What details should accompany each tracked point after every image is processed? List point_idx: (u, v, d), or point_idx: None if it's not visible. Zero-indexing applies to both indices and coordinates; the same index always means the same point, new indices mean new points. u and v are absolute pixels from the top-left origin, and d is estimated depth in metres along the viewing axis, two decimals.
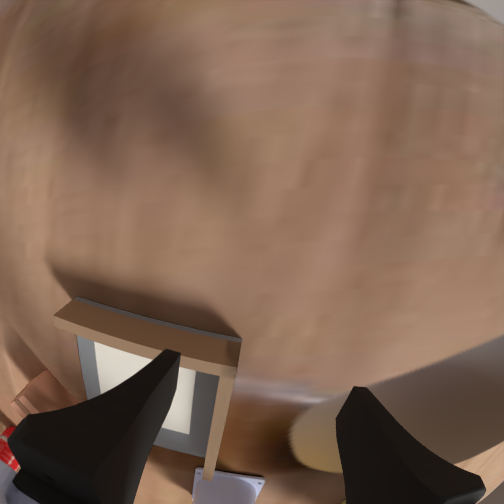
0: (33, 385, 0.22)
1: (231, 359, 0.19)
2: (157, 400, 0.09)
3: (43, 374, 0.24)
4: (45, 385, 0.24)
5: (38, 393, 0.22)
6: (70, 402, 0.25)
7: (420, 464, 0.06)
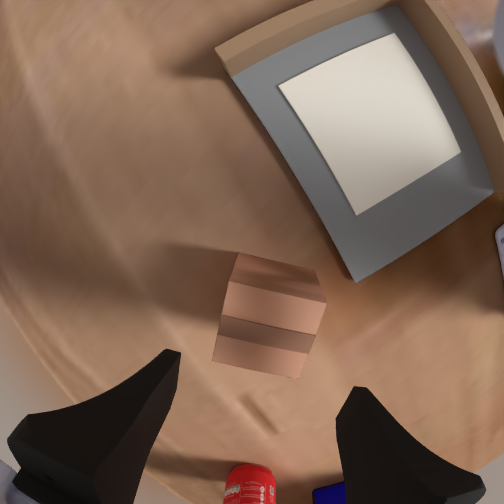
0: (235, 268, 0.17)
1: None
2: (157, 400, 0.09)
3: (239, 257, 0.19)
4: (254, 265, 0.18)
5: (252, 274, 0.16)
6: (305, 272, 0.19)
7: (420, 464, 0.06)
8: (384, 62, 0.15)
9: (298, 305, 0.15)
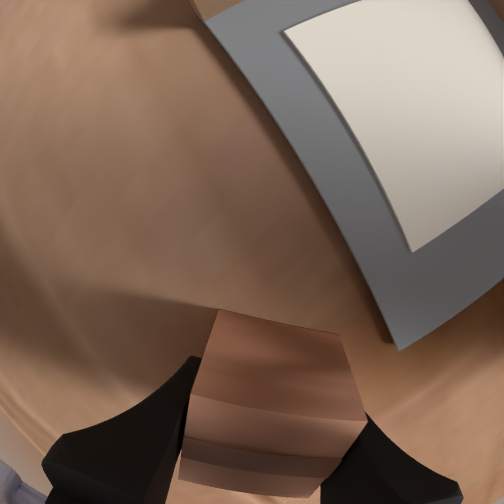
0: (208, 355, 0.09)
1: None
2: (187, 409, 0.09)
3: (218, 323, 0.11)
4: (242, 341, 0.10)
5: (237, 366, 0.09)
6: (326, 343, 0.11)
7: (392, 467, 0.06)
8: (445, 14, 0.07)
9: (317, 427, 0.07)
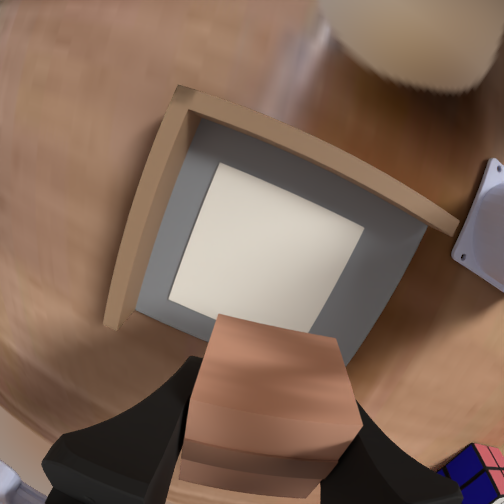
0: (207, 360, 0.09)
1: None
2: (187, 409, 0.09)
3: (217, 327, 0.11)
4: (241, 345, 0.10)
5: (236, 371, 0.09)
6: (324, 347, 0.11)
7: (392, 467, 0.06)
8: (231, 208, 0.17)
9: (314, 431, 0.07)
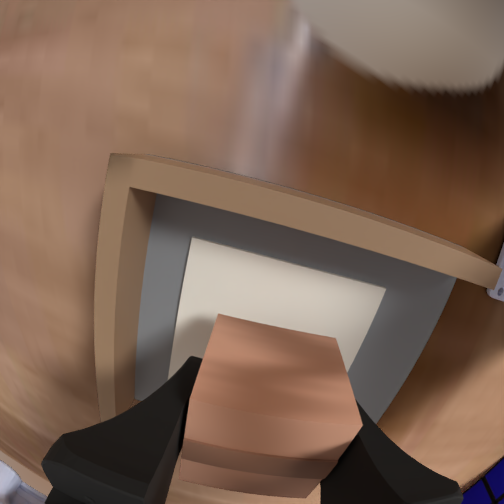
0: (206, 360, 0.09)
1: None
2: (187, 409, 0.09)
3: (217, 327, 0.11)
4: (240, 345, 0.10)
5: (235, 370, 0.09)
6: (323, 346, 0.11)
7: (392, 467, 0.06)
8: (217, 292, 0.13)
9: (313, 431, 0.07)
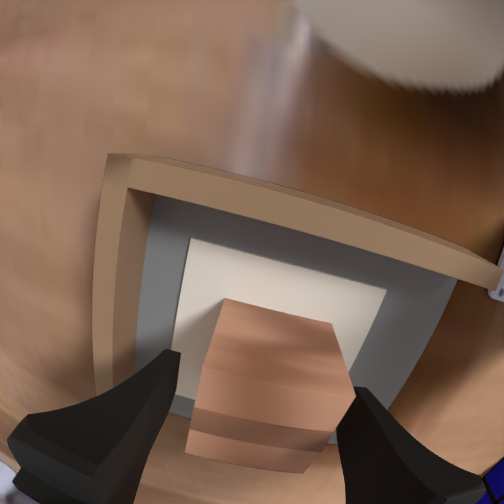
0: (216, 335, 0.10)
1: None
2: (157, 400, 0.09)
3: (224, 309, 0.12)
4: (246, 325, 0.12)
5: (242, 345, 0.10)
6: (320, 330, 0.13)
7: (420, 464, 0.06)
8: (216, 293, 0.13)
9: (311, 399, 0.09)
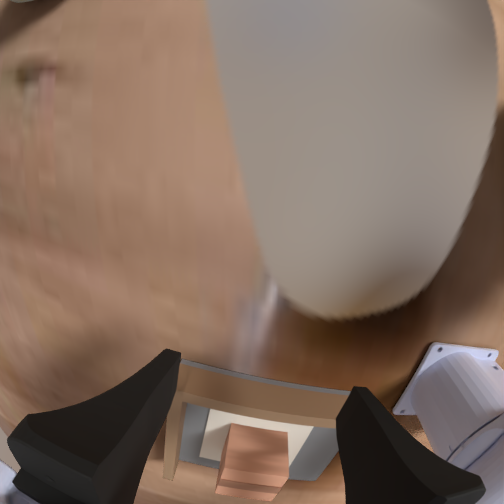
0: (228, 450, 0.20)
1: None
2: (157, 400, 0.09)
3: (231, 431, 0.22)
4: (242, 441, 0.21)
5: (240, 454, 0.20)
6: (280, 438, 0.22)
7: (420, 464, 0.06)
8: (226, 421, 0.23)
9: (269, 477, 0.18)
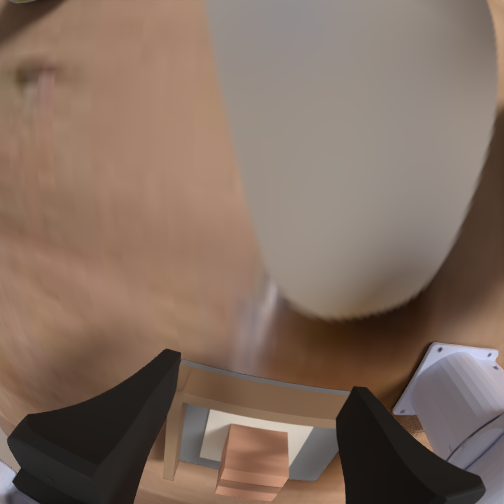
0: (228, 450, 0.20)
1: None
2: (157, 400, 0.09)
3: (231, 432, 0.22)
4: (242, 441, 0.21)
5: (240, 454, 0.20)
6: (280, 438, 0.22)
7: (420, 464, 0.06)
8: (226, 421, 0.23)
9: (269, 477, 0.18)
